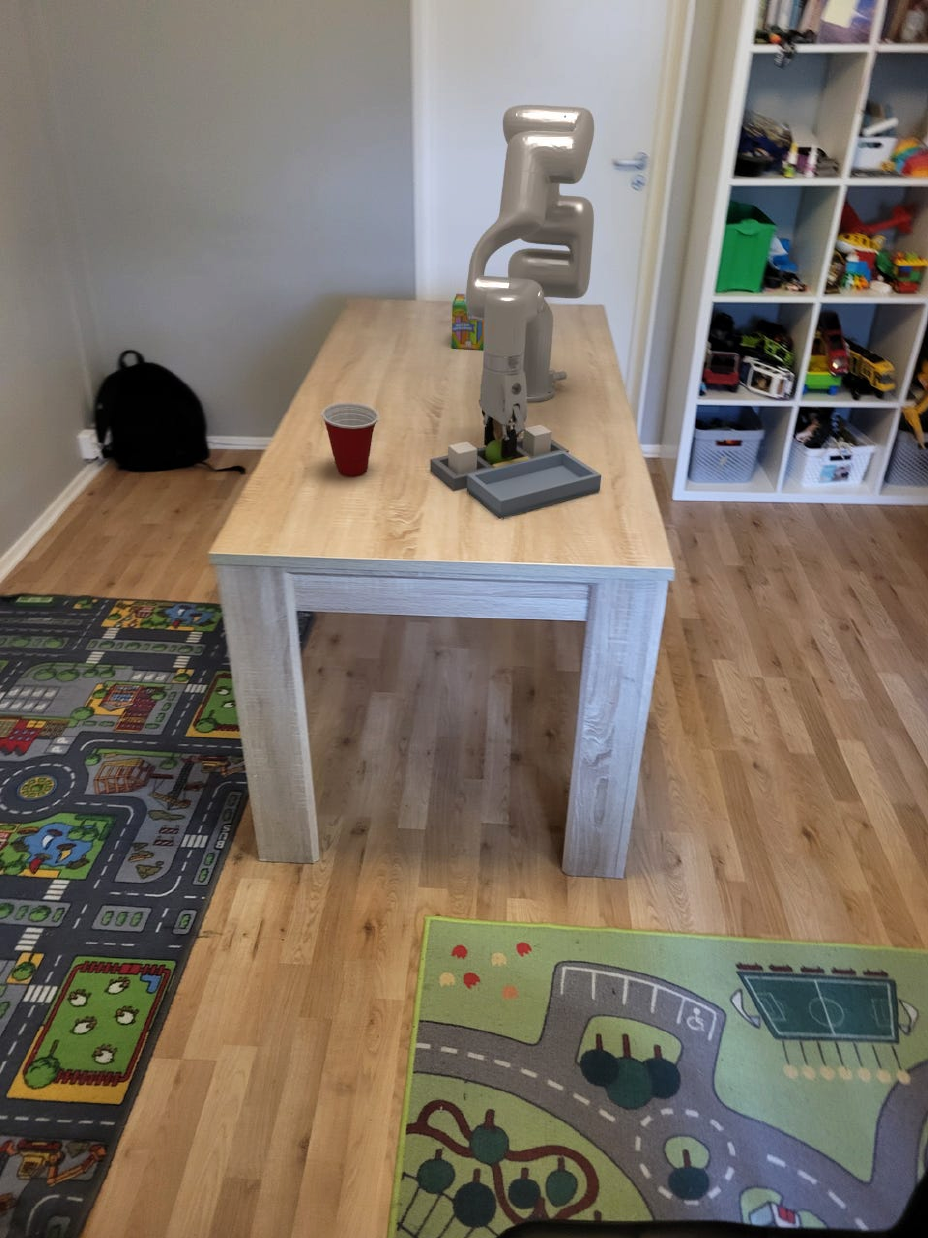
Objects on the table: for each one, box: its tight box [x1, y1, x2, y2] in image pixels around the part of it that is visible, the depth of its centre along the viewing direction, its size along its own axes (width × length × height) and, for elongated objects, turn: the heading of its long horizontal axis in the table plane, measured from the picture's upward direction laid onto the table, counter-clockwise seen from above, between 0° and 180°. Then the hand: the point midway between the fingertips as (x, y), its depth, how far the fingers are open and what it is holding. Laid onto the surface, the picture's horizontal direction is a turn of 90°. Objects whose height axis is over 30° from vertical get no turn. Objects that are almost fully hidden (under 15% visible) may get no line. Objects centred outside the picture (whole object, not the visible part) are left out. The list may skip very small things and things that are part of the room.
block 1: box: [448, 441, 477, 475], centre depth 178 cm, size 4×4×6 cm
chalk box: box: [451, 293, 484, 351], centre depth 238 cm, size 9×9×15 cm
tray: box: [466, 450, 602, 520], centre depth 174 cm, size 22×12×4 cm, turn 120°
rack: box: [429, 437, 570, 492], centre depth 182 cm, size 26×9×3 cm, turn 120°
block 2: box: [522, 424, 553, 456], centre depth 185 cm, size 4×4×6 cm
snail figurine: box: [485, 418, 513, 466], centre depth 180 cm, size 5×6×12 cm
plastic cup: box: [320, 402, 380, 478], centre depth 178 cm, size 11×11×12 cm
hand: (500, 449), depth 181 cm, fingers closed on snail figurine, 5 cm apart
